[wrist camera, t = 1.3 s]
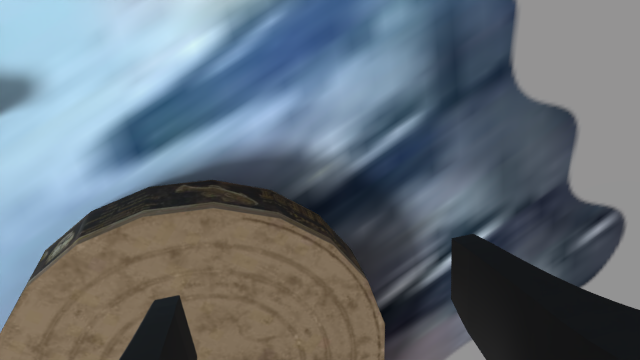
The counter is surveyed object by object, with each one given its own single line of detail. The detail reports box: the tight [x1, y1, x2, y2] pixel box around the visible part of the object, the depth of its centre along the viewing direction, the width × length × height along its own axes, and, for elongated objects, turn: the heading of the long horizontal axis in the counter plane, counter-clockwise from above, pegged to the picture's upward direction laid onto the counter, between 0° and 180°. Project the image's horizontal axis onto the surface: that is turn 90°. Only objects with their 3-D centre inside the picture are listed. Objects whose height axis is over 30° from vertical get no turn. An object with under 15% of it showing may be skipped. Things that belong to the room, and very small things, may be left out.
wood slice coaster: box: [0, 180, 385, 360], centre depth 23 cm, size 16×16×3 cm
